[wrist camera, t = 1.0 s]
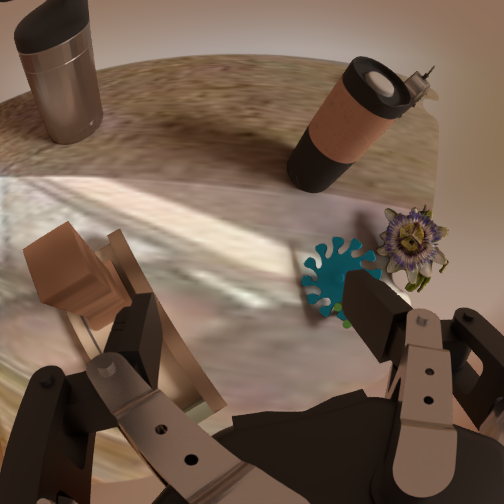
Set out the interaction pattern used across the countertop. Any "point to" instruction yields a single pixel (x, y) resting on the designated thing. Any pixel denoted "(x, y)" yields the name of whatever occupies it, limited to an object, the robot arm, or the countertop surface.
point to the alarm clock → (417, 87)
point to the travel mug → (347, 123)
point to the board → (173, 347)
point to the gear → (336, 275)
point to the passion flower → (413, 245)
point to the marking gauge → (75, 277)
